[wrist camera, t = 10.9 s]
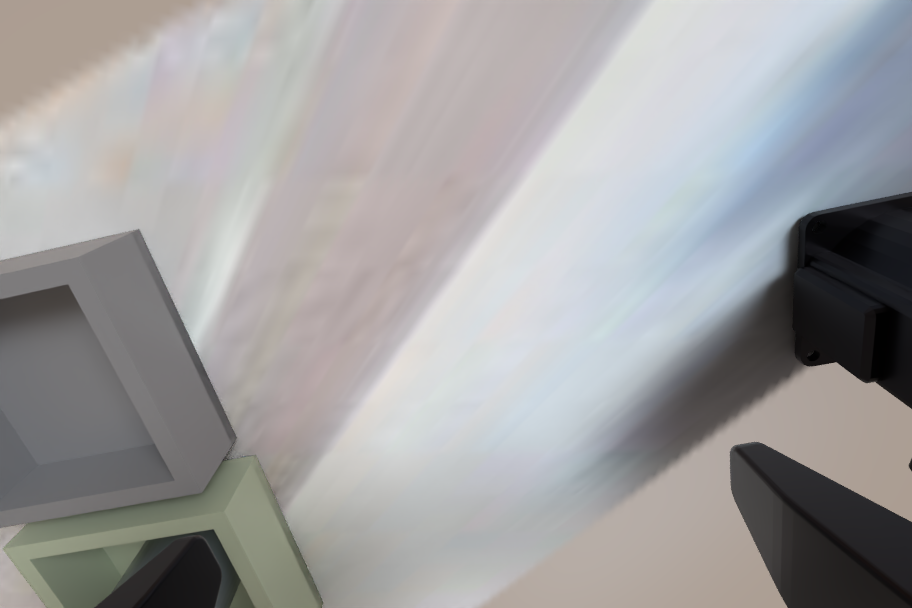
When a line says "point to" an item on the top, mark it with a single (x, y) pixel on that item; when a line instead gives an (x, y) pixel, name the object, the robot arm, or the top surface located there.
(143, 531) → the sage bin
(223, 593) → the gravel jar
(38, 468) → the charcoal bin
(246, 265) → the top surface
